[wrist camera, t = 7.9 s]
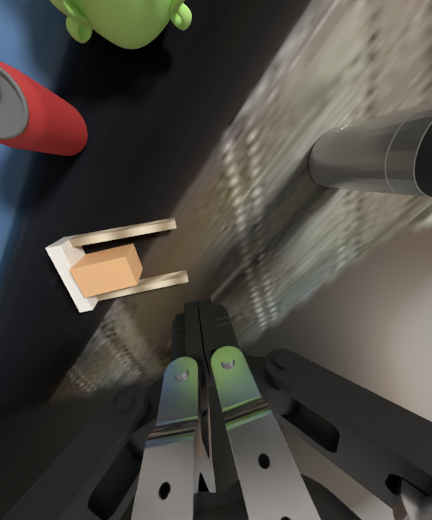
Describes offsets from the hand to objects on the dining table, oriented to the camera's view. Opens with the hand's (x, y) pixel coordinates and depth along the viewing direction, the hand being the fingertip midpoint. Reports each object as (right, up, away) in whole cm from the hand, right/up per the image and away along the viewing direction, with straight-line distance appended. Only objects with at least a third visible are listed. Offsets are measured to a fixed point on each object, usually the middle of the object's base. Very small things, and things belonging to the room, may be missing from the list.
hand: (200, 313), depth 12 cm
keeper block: (-17, +3, +24) cm, 29 cm away
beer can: (-20, +21, +16) cm, 33 cm away
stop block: (-22, +2, +23) cm, 32 cm away
